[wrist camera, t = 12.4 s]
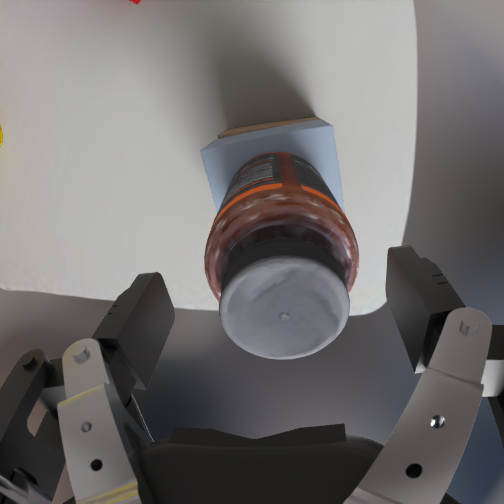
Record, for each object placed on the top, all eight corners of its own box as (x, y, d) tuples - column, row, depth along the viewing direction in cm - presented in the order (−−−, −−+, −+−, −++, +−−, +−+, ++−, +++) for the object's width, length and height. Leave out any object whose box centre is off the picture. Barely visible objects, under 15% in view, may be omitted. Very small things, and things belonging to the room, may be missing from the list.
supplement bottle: (212, 212, 20) (155, 333, 10) (260, 131, 17) (244, 175, 7) (291, 256, 21) (303, 397, 11) (344, 183, 18) (419, 286, 8)
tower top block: (216, 139, 22) (200, 150, 18) (321, 119, 21) (332, 125, 17) (240, 233, 26) (231, 264, 22) (336, 217, 25) (347, 246, 20)
